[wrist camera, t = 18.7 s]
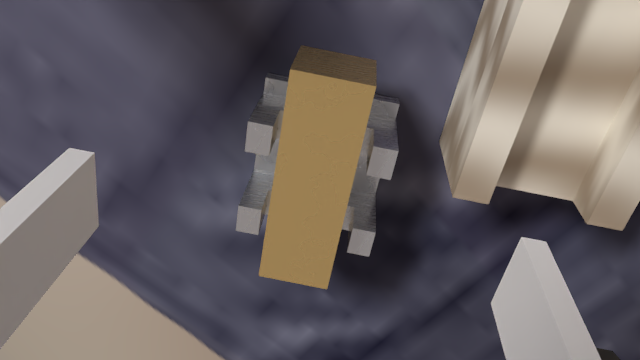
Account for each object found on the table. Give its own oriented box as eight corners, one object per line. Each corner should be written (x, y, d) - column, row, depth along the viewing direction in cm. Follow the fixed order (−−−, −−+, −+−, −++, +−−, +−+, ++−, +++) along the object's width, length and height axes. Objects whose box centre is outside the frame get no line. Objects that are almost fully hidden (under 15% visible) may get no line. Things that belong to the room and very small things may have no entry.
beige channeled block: (522, -118, 29) (565, -118, 22) (701, -82, 29) (796, -71, 22) (439, 141, 37) (452, 197, 30) (578, 169, 37) (622, 230, 30)
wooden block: (301, 45, 31) (290, 69, 27) (376, 60, 31) (376, 86, 27) (270, 235, 38) (258, 275, 34) (332, 247, 38) (327, 289, 34)
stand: (268, 72, 35) (249, 105, 30) (398, 98, 35) (402, 135, 30) (252, 195, 40) (234, 242, 35) (367, 218, 40) (365, 268, 35)
